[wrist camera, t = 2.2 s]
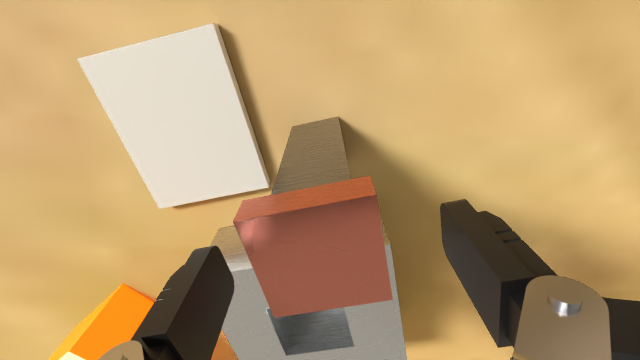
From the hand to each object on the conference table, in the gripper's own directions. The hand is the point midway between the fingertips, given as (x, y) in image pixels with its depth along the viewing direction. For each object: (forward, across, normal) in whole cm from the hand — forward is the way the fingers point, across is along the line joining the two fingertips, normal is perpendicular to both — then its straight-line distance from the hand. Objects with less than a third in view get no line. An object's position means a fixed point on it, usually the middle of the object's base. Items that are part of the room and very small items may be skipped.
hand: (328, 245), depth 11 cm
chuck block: (+10, +3, +10) cm, 15 cm away
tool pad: (+10, +8, -4) cm, 13 cm away
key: (+10, 0, 0) cm, 10 cm away
